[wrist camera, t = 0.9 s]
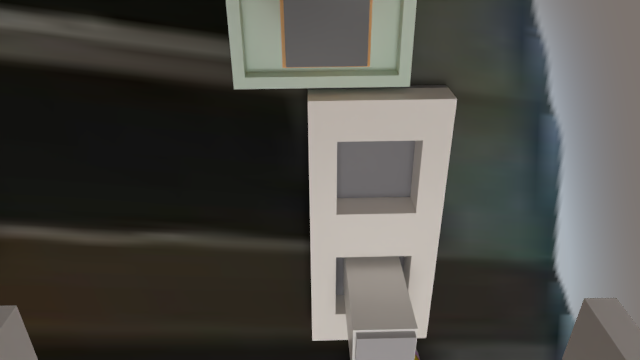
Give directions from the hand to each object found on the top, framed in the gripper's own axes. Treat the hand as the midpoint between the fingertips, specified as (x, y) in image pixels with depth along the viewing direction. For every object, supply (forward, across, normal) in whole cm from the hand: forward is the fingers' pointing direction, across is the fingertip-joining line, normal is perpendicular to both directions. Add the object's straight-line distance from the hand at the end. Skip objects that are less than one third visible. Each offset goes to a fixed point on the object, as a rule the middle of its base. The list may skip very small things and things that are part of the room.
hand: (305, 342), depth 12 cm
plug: (+26, +1, +4) cm, 26 cm away
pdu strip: (+26, +5, -14) cm, 30 cm away
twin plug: (+25, +5, -19) cm, 32 cm away
